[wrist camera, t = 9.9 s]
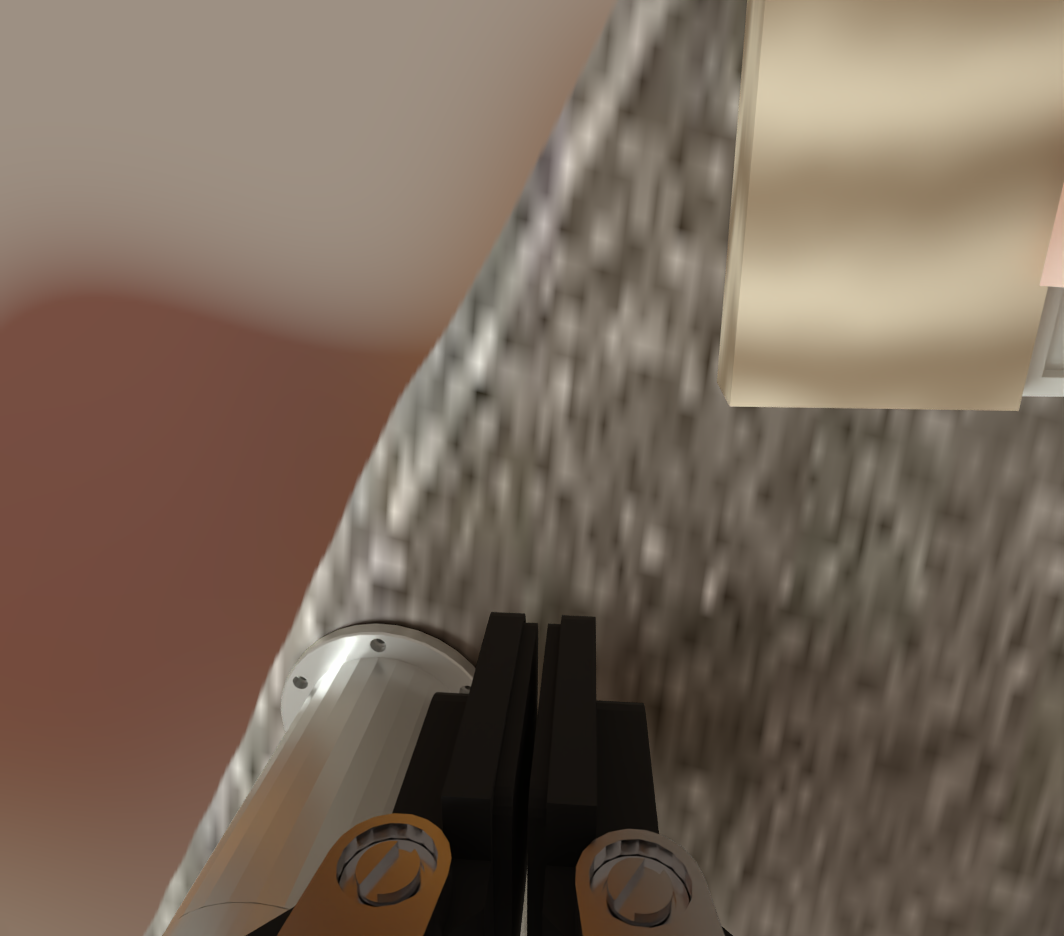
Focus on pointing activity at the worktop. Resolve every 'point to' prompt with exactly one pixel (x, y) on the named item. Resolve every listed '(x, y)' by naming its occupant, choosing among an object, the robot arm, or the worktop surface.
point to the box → (1048, 349)
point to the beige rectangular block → (892, 202)
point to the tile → (1055, 251)
